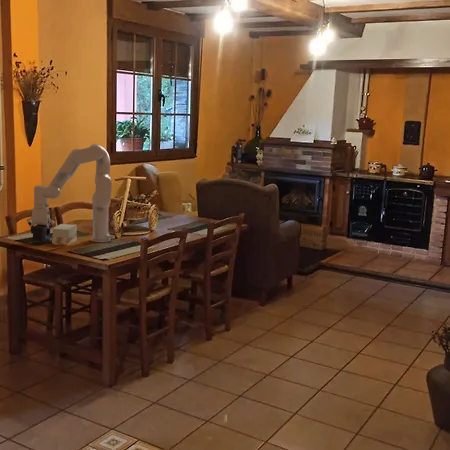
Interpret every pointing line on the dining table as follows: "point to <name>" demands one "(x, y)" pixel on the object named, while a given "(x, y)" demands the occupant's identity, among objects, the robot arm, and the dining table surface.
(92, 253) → the dining table surface
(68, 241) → the tower base
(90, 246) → the dining table surface
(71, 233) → the tower top
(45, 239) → the small box
